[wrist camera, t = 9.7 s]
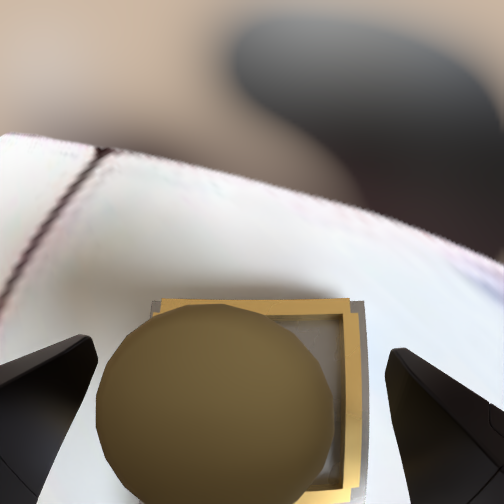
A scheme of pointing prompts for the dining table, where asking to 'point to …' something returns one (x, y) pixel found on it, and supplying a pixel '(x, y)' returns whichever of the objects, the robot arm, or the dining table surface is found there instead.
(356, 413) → the grey base with knob
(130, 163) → the dining table surface
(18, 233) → the dining table surface
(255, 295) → the dining table surface
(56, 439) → the robot arm
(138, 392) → the cork
